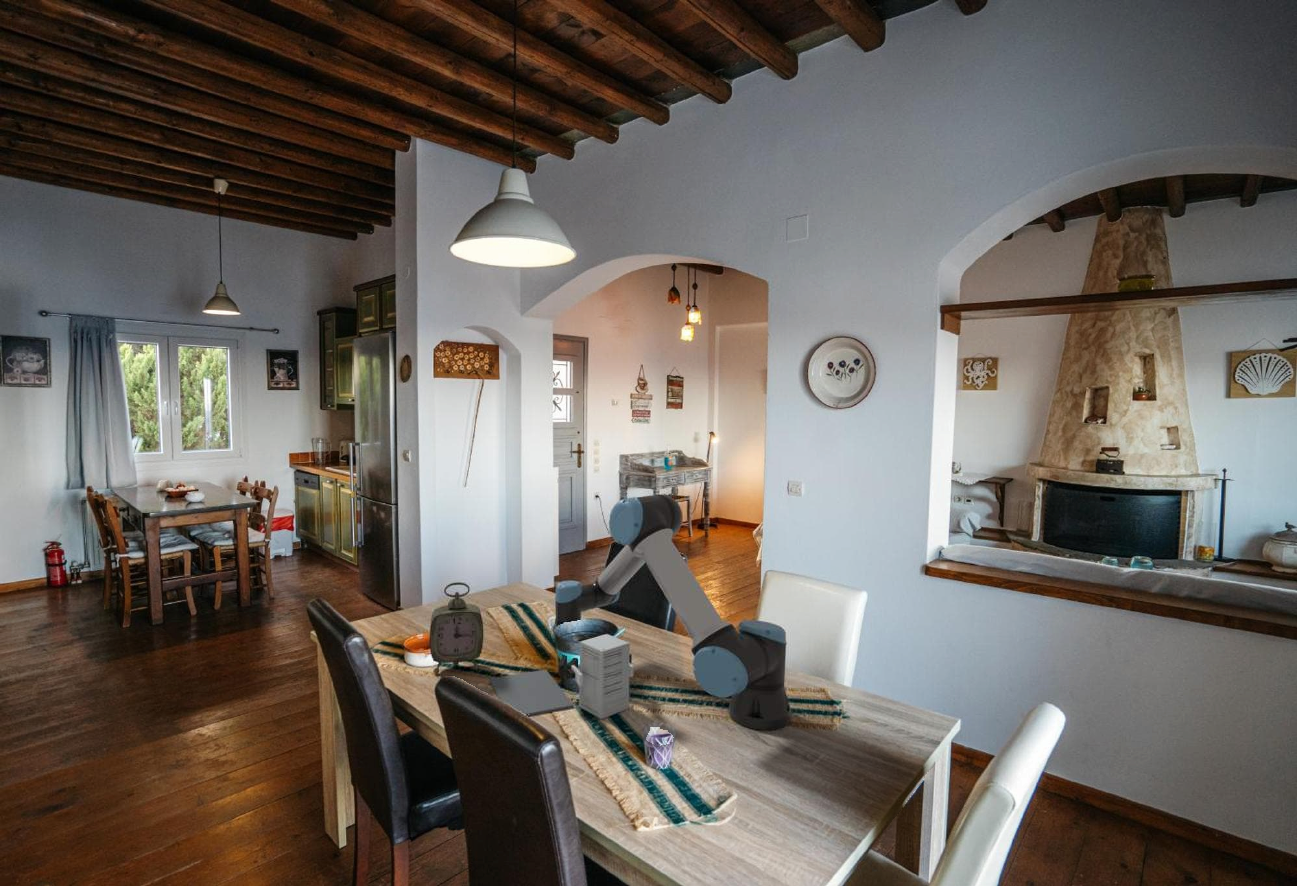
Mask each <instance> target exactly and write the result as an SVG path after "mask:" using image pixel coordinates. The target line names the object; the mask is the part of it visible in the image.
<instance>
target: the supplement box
mask: <svg viewBox="0 0 1297 886" xmlns="http://www.w3.org/2000/svg"><path fill="white" fill-rule="evenodd" d="M630 645H631V643H630V642H628V641H625V640H623V639H620V638H618V637H616V636H613V635H611V634H608V633H605V634H602V635H599V636H595V637H591V638H590V639H588V640H584V641H581V642H580V667H579V671H580V672H581V673H582V674H583V686H579V685H578V689H579V692H578V707H579V708H581V709H583V710H584V711H587V712H588V713H590V714H592V715H593V716H595V717H597V718H599V719H600V720H602V719H605V718H608V717H610V716H613V715H615V714H618V713H621V712H623V711H625V710H628V709H630V676H629V656H630V654H631V653H630V648H631V647H630Z"/></svg>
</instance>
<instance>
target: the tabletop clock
mask: <svg viewBox="0 0 1297 886" xmlns="http://www.w3.org/2000/svg"><path fill="white" fill-rule="evenodd" d="M457 585H458V586H459V585H461V586H465V588H467V591H466V592H464V593H461V594H460V592H458V591H456V592H455V593H454V594H451V593H450V594H449V593H447V589H449V588H450V587H452V586H457ZM470 591H471V589H470V586H469V585H468V584H467V583H465V582H460V581H459V582H457V581H456V582H452V583H449V584H447V585H446V586H445V587H444V590H443V593H444V595H446V596H447V597H448V598H451V599H450V600H449V602H448V603H447V605H443V606H442V605H441V606H438V607H436V608H435V609H433V611H432V613H431V618H430V625H429V626H430V627H429V649H430V651H429V652H430V655H431V658H432V660H433V662H436V663H438V664H437V666H436V667H435V668H434V669H433V674H435V675H438V674H439V673H440V666H441V664H447V663H448V664H452V666H454V667H457V666H459V663H462V662H468V661H471V663H472V664H473V665H472V669H473V670H474V671H477V670H478V669H479V667H480V666H479V664H478V663H476V661H475V659H477V658H479V657H480V656H481V654H482V652H483V651H482V650H483V647H484V638H485V637H484V623H483V618H482V614H481V613H482V612H481V610H480V607H479V606H478V605H476V604H470V603H466V600H465V599H464V598H462V597H464V596H467V595H468V594H469V593H470Z"/></svg>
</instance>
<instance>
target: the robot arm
mask: <svg viewBox="0 0 1297 886" xmlns="http://www.w3.org/2000/svg"><path fill="white" fill-rule="evenodd" d="M683 518H684V517H683V511H682V507H681V506H680V504H679V503H678V501H677V500H676V499H674V498H673V497H671V496H670V495H666V494H660V493H659V494H652V495H651V494H650V495H644V496H638V497H635V496H630V497H627V498H624V499H620V500H619V501H617V502H616V503H615V504H614V505H613V507H612V508H611V511H610V513H609V520H608V527H609V528H608V529H609V532H610V535H611V537H612V539H613V540H614V541H615V543H617V544H618V545H621V546H624V547H623V548H622V549H621V551H619V553H618V554H617V555H616V556H615V557H614V558H613V560H611V562H610V563H609V564H608V565H607V566H606V567H605V569H604V570H603V571H602V572H601V574H600V575H598V577H597V578H596V579H595V580H594V581H593V582H591V583H586V584H581V582H579V581H577V580H562V581H559V582H558V583H557V584H556V587H555V595H554V601H555V604H554V606H555V611H554V612H555V618H554V622H553V624H552V626H551V628H550V636H551V638H552V640H553V641H554V639H553V635H552V631H553V629H554V628H555V627H556V626H558V625H560V624H563V623H564V622H571V621H577V620H581V621H582V613H583V612H588V611H590V610H594V609H597V608H602V607H605V606H609V605H611V604H613V603H616V602H617V601H618V600H619V598H620V594H621V590H622V588H623V587H624V586H625V585H626V584H627V583H628V582H629V581H630V580H631V578H633V577H634V575H635V574H636V573H637V572H638V571H639V570H640V569H641V568H642V567H643V566H644V565H645V564H646V566H647V568H648V569H649V571H650V573H651V574H652V576H653V577H654V579H655V581H656V582H657V584H658V585H659V587H660V589H661V590H662V592H663V594H664V596H665V597H666V599H667V601H668V602H669V604H670V605H671V607H672V609H673V611H674V613H675V614H676V616H677V617H678V619H679V621H680V622H681V623H682V625H683V627H684V629H685V631H686V632H687V634H688V635H689V637H690V639H691V640H692V643H691V647H690V648H691V649H690V651H691V653H692V654H693V660H692V666H693V669H692V672H693V674H694V675H693V676H694V677H695V680H696V681H697V683H698V684H699V686H700V687H701V688H702V689H703V690H704V691H705V692H706V693H708V694H710V695H711V696H716V697H718V698H728V697H731V699H729V704H728V715H729V717H730V718H731V720H732V721H734V722H735V723H737V724H738V725H741V726H743V727H745V728H749V729H755V730H763V731H774V730H778V729H782V728H784V727H787V726H788V725H789V724H790V722H791V715H792V714H791V713H792V709H791V705H790V703H789V699H788V696H787V695H788V694H787V692H786V688H785V683H786V682H785V676H786V675H785V674H786V659H787V658H786V653H787V651H786V650H787V644H788V643H787V639H786V638H787V635H786V634H787V633H786V631H785V629H784V628H783V627H782V626H781V625H778V624H775V623H773V622H769V621H768V622H767V621H764V620H755V619H754V620H753V619H747V620H746V619H745V620H742V621H740V622H739V623H738V627H737V629H736V627H735V626H734V625H733V623H732V622H728V621H724V620H723V618H722V617H721V615H720V614H719V612H718V611H717V609H716V608H715V607H714V605H713V603H712V602H711V600H710V598H709V597H708V595H707V594H706V592H705V590H704V589H703V588H702V586H701V585H700V583H699V581H698V579H697V578H696V576H695V575H694V573H693V572H692V570H691V569H690V567H689V565H688V564H687V563H686V560H685V559H684V558H683V556H682V554H681V553H680V551H679V550H678V549H677V546H675V544H674V542H673V538H674V537H675V536H676V535H677V534H678V532H679V531H680V529H681V527H682V523H683ZM579 634H580V635H579ZM573 635H576V636H574V637H573V638H572V639H573V640H574V641H584V640H588V639H591V638H590V637H589V636H588V635H587V634H586V635H587V636H586V635H582V634H581V633H575V634H573ZM632 659H633V655H632V654H631V653H630V656H629V678H633V677H634V665H632V664H633V663H632V662H633V661H632ZM578 668H579V667H578V659H577V658H573V659H572V660H571V659H570V660H569V661H568V663H567V656H565V655H563V654H562V658H561V657H560V661H559V663H558V667H557V669H558V670H557V671H558V673H557V675H558V676H560V677H561V676H563V675H565V679H567V680H568V679H572V680H574V681H575V683H577V685H578V687H579V686H583V674H582V673H581V672H580V669H578Z"/></svg>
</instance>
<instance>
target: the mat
mask: <svg viewBox="0 0 1297 886" xmlns="http://www.w3.org/2000/svg"><path fill="white" fill-rule="evenodd" d="M489 682H490V684H491V686H492V687H493V690H494V692H495V694H496V695H497V697H498V699H499V701H500V700H502V702H506V703H508V704H509V705H511V706H512V707H514V708H515V709H517V710H518V711H521V712H522V713H524V714H526V715H527V716H526V717H529V716H535V715H539V714H545V713H549V712H550V713H551V712H556V711H561V710H568V709H572V708H574V703H572V701H571V700H570V698H568V696H567V695H566V694H565V692H564V690H563V689H562V688H561V687H560V686H559V684H558V683H557V682H556V680H555V679H554V678H553V677H552V675H551V674H550V673H549V672H548V671H547V669H540V670H534V671H528V672H523V673H521V672H520V673H516V674H509V675H502V676H497V677H490V678H489ZM528 714H529V715H528Z"/></svg>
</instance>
